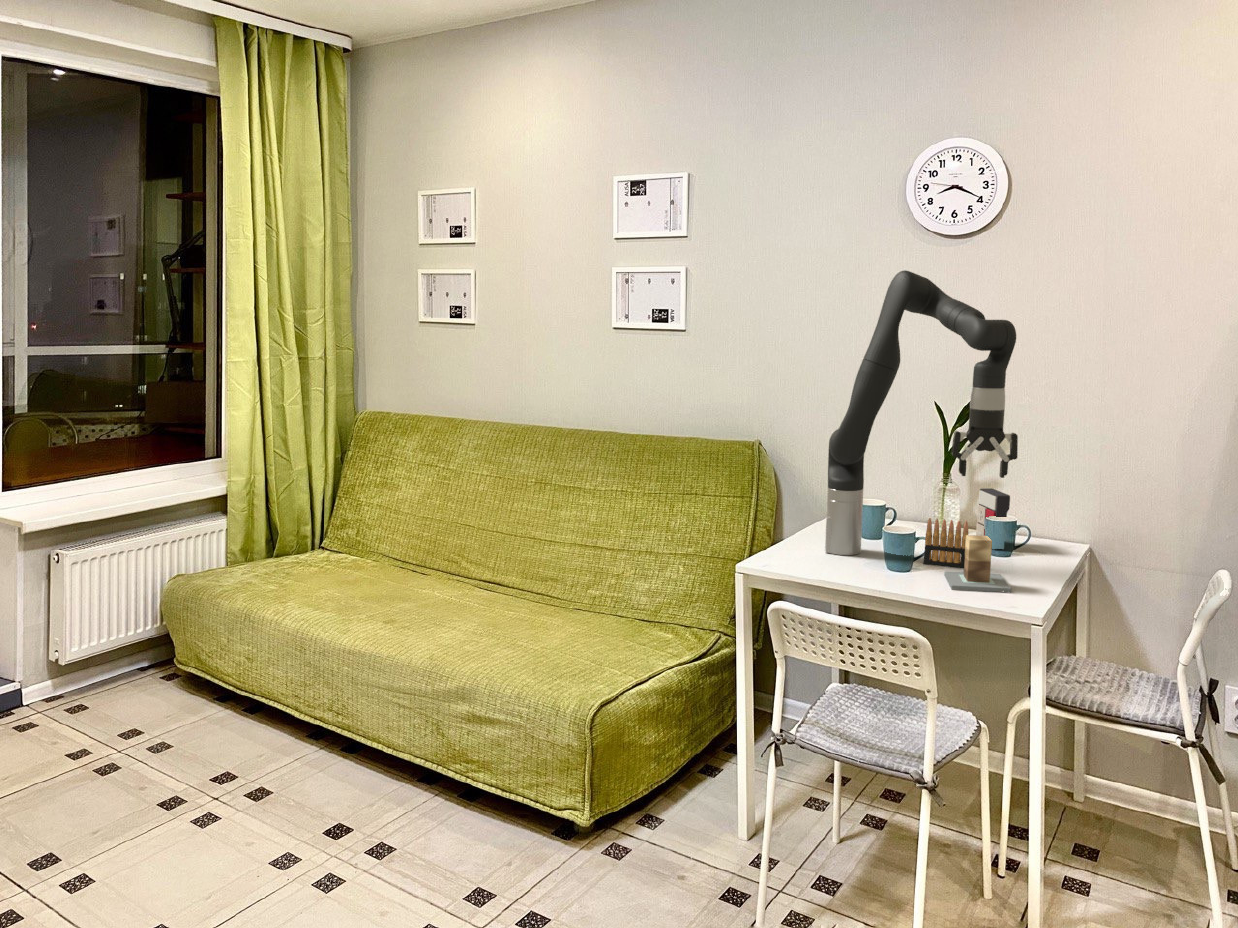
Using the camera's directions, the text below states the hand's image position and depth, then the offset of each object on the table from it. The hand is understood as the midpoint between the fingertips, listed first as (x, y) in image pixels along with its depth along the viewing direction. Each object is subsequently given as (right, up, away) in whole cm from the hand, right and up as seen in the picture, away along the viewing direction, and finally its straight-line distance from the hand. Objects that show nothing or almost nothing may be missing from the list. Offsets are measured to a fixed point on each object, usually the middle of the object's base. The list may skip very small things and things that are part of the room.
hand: (982, 476), depth 236 cm
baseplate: (0, -25, +4) cm, 26 cm away
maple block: (0, -19, +3) cm, 20 cm away
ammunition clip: (-2, -23, +21) cm, 31 cm away
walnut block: (0, -24, +4) cm, 25 cm away
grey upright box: (+17, -20, +42) cm, 50 cm away
